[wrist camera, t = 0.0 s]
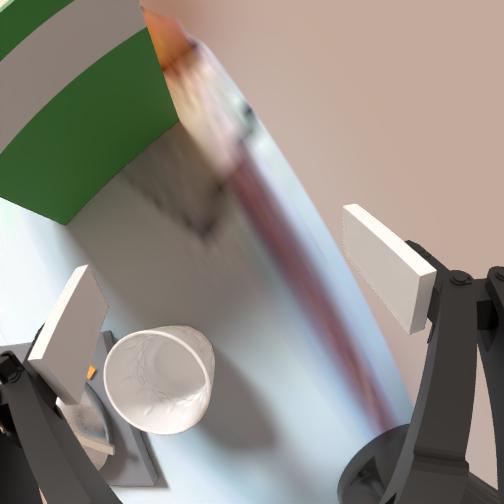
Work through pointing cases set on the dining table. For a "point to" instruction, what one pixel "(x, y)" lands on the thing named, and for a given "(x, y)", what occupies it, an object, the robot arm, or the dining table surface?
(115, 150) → the hardback book
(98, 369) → the dial base
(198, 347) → the white cup
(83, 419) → the capstan dial
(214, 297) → the dining table surface
